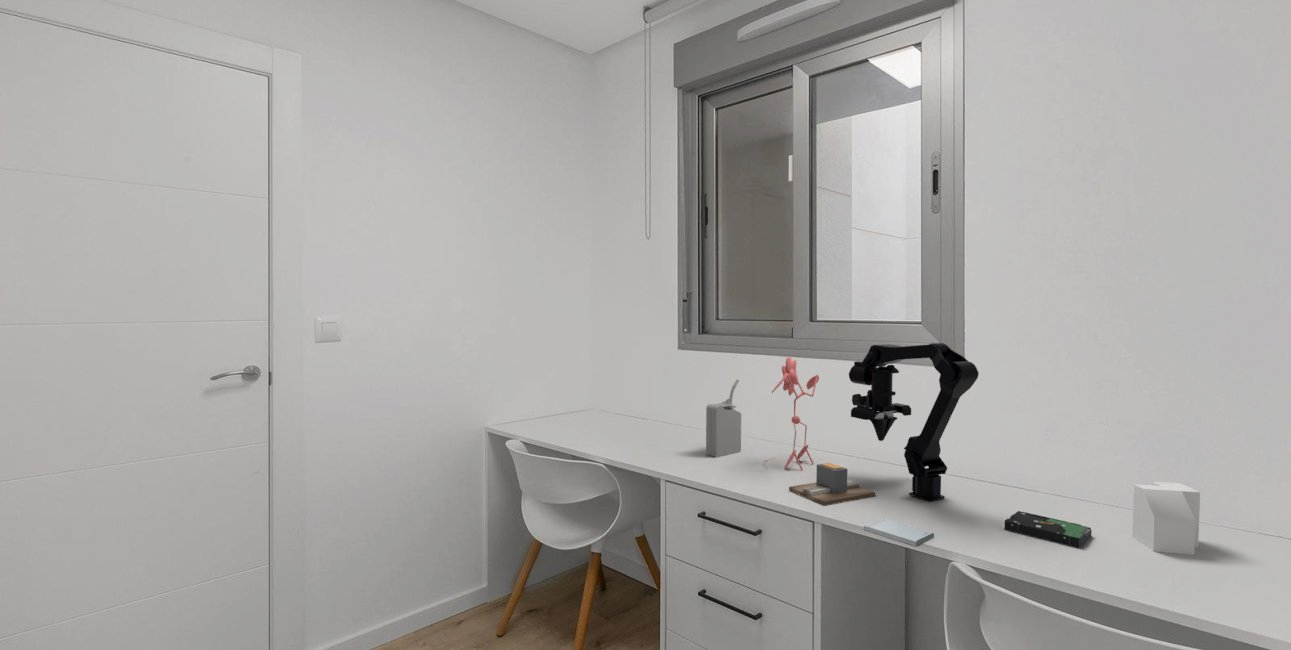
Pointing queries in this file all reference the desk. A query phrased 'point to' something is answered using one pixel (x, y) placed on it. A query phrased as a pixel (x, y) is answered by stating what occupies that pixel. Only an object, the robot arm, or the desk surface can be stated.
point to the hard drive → (898, 531)
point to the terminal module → (832, 477)
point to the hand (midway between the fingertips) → (880, 440)
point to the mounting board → (826, 497)
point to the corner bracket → (1166, 517)
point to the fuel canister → (723, 428)
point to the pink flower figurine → (789, 381)
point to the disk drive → (1048, 529)
